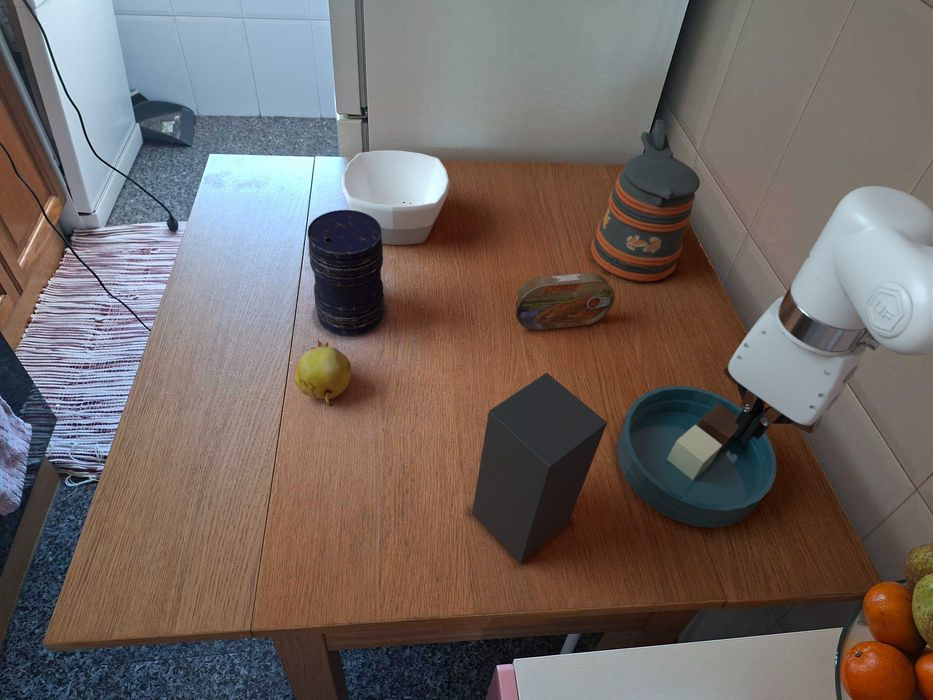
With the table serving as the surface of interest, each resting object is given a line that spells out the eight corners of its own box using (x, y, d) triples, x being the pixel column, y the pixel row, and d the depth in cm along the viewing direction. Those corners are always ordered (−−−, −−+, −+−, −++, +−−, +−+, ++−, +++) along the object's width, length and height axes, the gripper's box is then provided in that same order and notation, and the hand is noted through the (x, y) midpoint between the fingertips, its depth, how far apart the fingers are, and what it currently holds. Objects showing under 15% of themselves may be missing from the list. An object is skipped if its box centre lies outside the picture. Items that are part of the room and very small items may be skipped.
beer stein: (582, 214, 119) (608, 109, 104) (660, 219, 119) (696, 117, 105) (596, 280, 106) (627, 171, 91) (684, 286, 106) (728, 179, 92)
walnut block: (734, 440, 84) (746, 422, 81) (717, 456, 82) (729, 438, 79) (708, 421, 86) (719, 402, 83) (691, 436, 84) (701, 417, 81)
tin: (513, 333, 96) (521, 289, 90) (508, 318, 98) (515, 275, 92) (608, 324, 99) (621, 281, 92) (601, 310, 101) (614, 268, 95)
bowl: (447, 199, 119) (450, 152, 112) (446, 259, 106) (450, 211, 100) (350, 193, 118) (347, 146, 111) (338, 253, 105) (333, 204, 99)
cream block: (711, 463, 81) (722, 445, 78) (692, 480, 79) (704, 462, 76) (685, 443, 83) (695, 424, 80) (666, 459, 81) (676, 440, 78)
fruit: (358, 386, 79) (352, 328, 85) (300, 382, 76) (298, 323, 83) (346, 420, 83) (342, 363, 90) (291, 418, 81) (291, 359, 87)
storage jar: (352, 282, 101) (347, 200, 90) (398, 313, 97) (398, 231, 86) (302, 314, 95) (290, 230, 84) (348, 347, 91) (342, 264, 80)
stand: (569, 522, 74) (607, 422, 61) (520, 564, 70) (549, 467, 57) (520, 476, 78) (546, 372, 65) (471, 513, 74) (488, 410, 61)
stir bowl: (788, 473, 82) (804, 452, 78) (707, 559, 73) (722, 540, 69) (671, 386, 91) (681, 365, 87) (586, 454, 81) (594, 432, 78)
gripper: (918, 345, 58) (822, 459, 72) (772, 260, 66) (709, 378, 79) (883, 383, 55) (788, 497, 68) (732, 289, 62) (672, 408, 75)
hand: (745, 433), depth 73 cm, fingers closed
